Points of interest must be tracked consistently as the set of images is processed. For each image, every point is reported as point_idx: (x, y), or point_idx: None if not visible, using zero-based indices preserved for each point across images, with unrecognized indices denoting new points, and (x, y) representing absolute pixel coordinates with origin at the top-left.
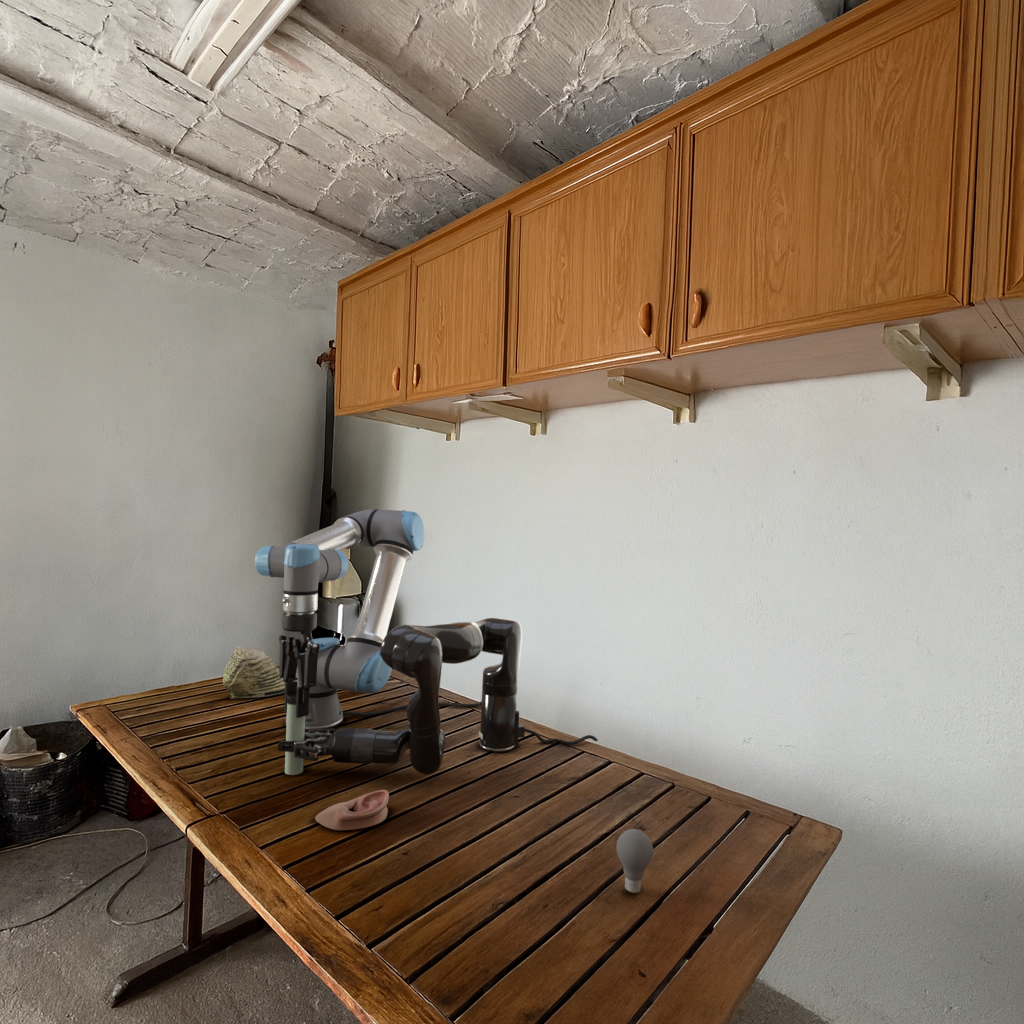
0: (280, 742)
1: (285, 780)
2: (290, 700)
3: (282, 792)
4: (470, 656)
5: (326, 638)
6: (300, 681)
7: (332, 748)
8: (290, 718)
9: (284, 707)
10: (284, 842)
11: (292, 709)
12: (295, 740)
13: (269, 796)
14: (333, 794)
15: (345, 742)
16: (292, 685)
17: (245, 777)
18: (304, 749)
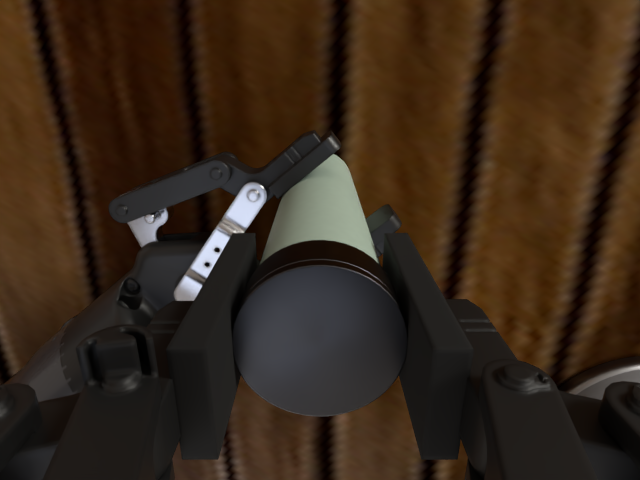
0: (323, 141)
1: (273, 122)
2: (288, 257)
3: (189, 61)
4: None
5: None
6: (99, 429)
7: (122, 279)
8: (297, 214)
9: (409, 243)
10: None
11: (282, 241)
12: (281, 200)
13: (188, 5)
14: (72, 182)
15: (80, 330)
16: (420, 391)
17: (401, 21)
18: (164, 178)
